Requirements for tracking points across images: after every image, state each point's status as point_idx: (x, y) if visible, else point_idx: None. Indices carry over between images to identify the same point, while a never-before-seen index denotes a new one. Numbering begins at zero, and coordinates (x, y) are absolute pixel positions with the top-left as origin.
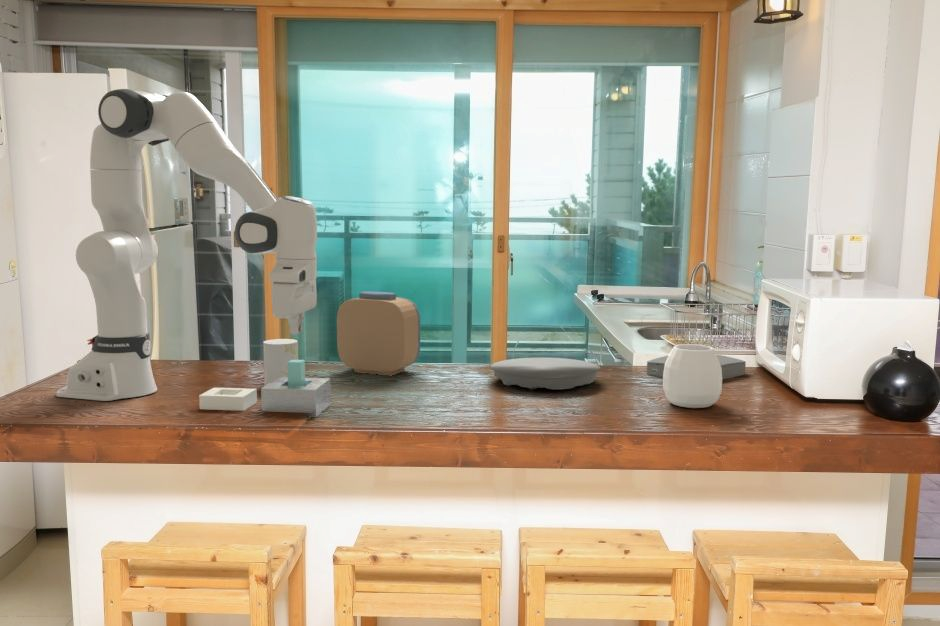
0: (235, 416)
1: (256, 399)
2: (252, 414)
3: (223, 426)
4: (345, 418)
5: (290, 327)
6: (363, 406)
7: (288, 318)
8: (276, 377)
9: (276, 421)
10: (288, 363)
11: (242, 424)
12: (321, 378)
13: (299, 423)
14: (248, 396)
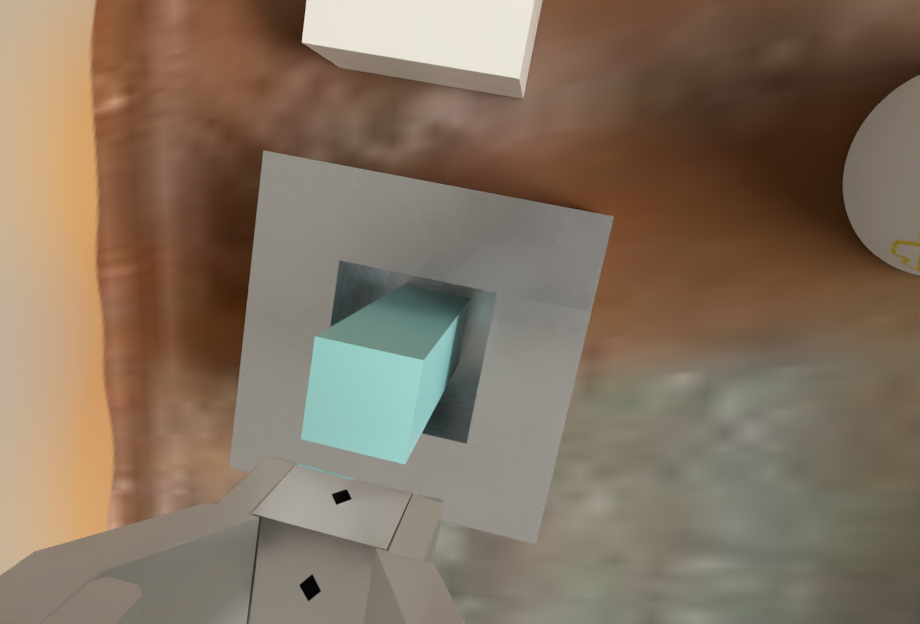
0: None
1: (514, 90)
2: (352, 109)
3: (138, 15)
4: None
5: (226, 500)
6: (484, 606)
7: (24, 574)
8: (907, 150)
9: (228, 248)
10: (318, 340)
11: (174, 99)
12: (535, 492)
13: (199, 350)
14: (382, 59)
